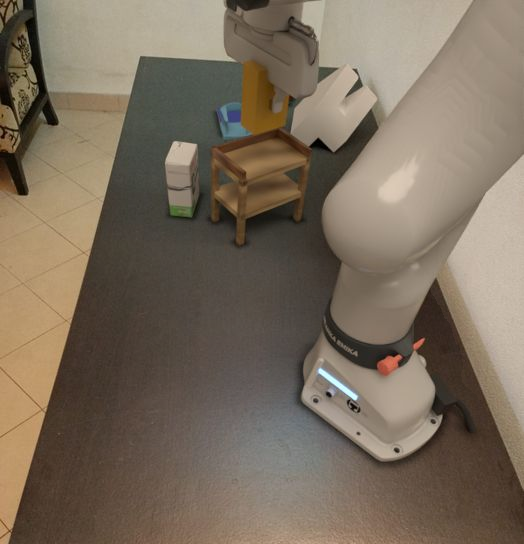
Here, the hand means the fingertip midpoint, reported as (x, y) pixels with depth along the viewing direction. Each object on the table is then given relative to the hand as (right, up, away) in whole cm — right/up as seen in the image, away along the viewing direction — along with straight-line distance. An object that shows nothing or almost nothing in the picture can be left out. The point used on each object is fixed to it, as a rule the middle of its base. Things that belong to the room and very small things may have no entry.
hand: (265, 104), depth 80 cm
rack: (-2, -15, +18) cm, 23 cm away
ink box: (-17, -11, +20) cm, 28 cm away
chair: (-7, +4, +33) cm, 34 cm away
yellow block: (0, -2, +3) cm, 4 cm away
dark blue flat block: (-8, +17, +43) cm, 47 cm away
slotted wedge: (+17, +13, +42) cm, 47 cm away
